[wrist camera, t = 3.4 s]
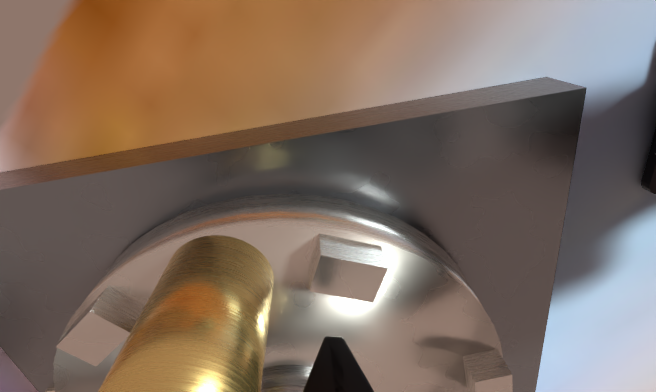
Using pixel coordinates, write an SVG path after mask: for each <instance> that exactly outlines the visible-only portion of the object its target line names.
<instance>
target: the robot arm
mask: <svg viewBox="0 0 656 392" xmlns="http://www.w3.org/2000/svg"><path fill="white" fill-rule="evenodd" d="M641 185H642V187H643V188H644V189H646V190H648V191H650V192H652V193H654V194H656V128H655V132H654V136H653V139H652V143H651V147H650V151H649V154H648V158H647V162H646V165H645V169H644V173H643V177H642V180H641ZM303 392H374V390H373V388H372V387H371V385H370V383H369V381H368V380H367V378H366V376H365V375H364V373H363V371H362V369H361V368H360V366H359V364H358V362H357V361H356V359H355V357H354V355H353V354H352V352H351V350H350V348H349V347H348V345H347V343H346V341H345V340H344V338H342V337H338V336H326V337H324V339H323V342H322V344H321V347H320V349H319V352H318V354H317V357H316V359H315V362H314V364H313V367H312V369H311V372H310V374H309V377H308V379H307V382H306V385H305V387H304V390H303Z"/></svg>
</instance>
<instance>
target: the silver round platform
mask: <svg viewBox="0 0 656 392" xmlns="http://www.w3.org/2000/svg"><path fill="white" fill-rule="evenodd" d="M326 336H338V337H342V338H344V340H345V341H346V343H347V345H348V347H349V348H350V350H351V352H352V354H353V355H354V357H355V359H356V361H357V362H358V364H359V366H360V368H361V369H362V371H363V373H364V375H365V376H366V378H367V380H368V381H369V383H370V385H371V387H372V388H373V390H374V392H513V384H512V373H511V372H510V370H509V368H508V366H507V365H506V363H505V361H504V359H503V354H502V347H501V343H500V340H499V338H498V335H497V332H496V329H495V327H494V325H493V323H492V321H491V320H490V318H489V316H488V315H487V313H486V311H485V310H484V308H483V306H482V305H481V303H480V301H479V300H478V298H477V296H476V295H475V293H474V291H473V290H472V288H471V286H470V285H469V283H468V281H467V280H466V278H465V276H464V275H463V273H462V272H461V270H460V268H459V267H458V266H457V264H456V263H455V262H454V261H453V260H452V259H451V258H450V256H449V255H448V254H447V253H446V252H445V251H444V250H443V249H442V248H441V247H440V246H438V245H437V244H436V243H435V242H434V241H432V240H431V239H430V238H429V237H428V236H426V235H425V234H424V233H422V232H420V231H419V230H417V229H415V228H414V227H412V226H411V225H409V224H407V223H406V222H404V221H402V220H400V219H398V218H396V217H393V216H391V215H389V214H386V213H384V212H382V211H379V210H377V209H375V208H371V207H368V206H364V205H361V204H357V203H354V202H350V201H347V200H342V199H336V198H329V197H323V196H317V195H302V194H269V195H255V196H246V197H241V198H236V199H230V200H225V201H220V202H216V203H213V204H209V205H206V206H203V207H200V208H197V209H194V210H191V211H188V212H185V213H183V214H181V215H179V216H177V217H175V218H173V219H171V220H169V221H167V222H164V223H162V224H160V225H159V226H157V227H156V228H154V229H153V230H151V231H150V232H148V233H147V234H145V235H144V236H142V237H141V238H139V239H138V240H136V241H135V242H134V243H133V244H132V245H131V246H130V247H129V248H127V249H126V250H125V251H124V252H123V253H122V254H121V255H120V256H119V257H118V258H117V259H116V260H115V262H114V263H113V264H112V265H111V267H110V268H109V269H108V271H107V272H106V273H105V274H104V276H103V277H102V278H101V280H100V281H99V282H98V283H97V285H96V286H95V287H94V289H93V290H92V291H91V293H90V294H89V295H88V297H87V298H86V299H85V300H84V302H83V303H82V304H81V306H80V307H79V308H78V310H77V311H76V312H75V313H74V315H73V316H72V317H71V319H70V320H69V322H68V324H67V326H66V328H65V330H64V332H63V334H62V336H61V338H60V340H59V343H58V344H57V346H56V348H57V351H56V355H55V359H54V371H53V384H54V389H55V392H303V390H304V387H305V385H306V382H307V379H308V377H309V374H310V372H311V369H312V367H313V364H314V362H315V359H316V357H317V354H318V352H319V349H320V347H321V344H322V342H323V339H324V337H326Z"/></svg>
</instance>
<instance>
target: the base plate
mask: <svg viewBox="0 0 656 392" xmlns="http://www.w3.org/2000/svg"><path fill="white" fill-rule="evenodd" d="M585 94H586V87H582V86H578V85H574V84H571V83H567V82H563V81H560V80H556V79H552V78H548V77H544V78H538V79H532V80H527V81H521V82H515V83H510V84H504V85H498V86H492V87H487V88H481V89H475V90H470V91H464V92H458V93H452V94H447V95H441V96H435V97H430V98H424V99H418V100H412V101H407V102H401V103H395V104H390V105H384V106H378V107H373V108H367V109H361V110H355V111H350V112H344V113H338V114H333V115H327V116H321V117H315V118H310V119H304V120H298V121H293V122H287V123H281V124H276V125H270V126H264V127H258V128H253V129H247V130H241V131H236V132H230V133H224V134H218V135H213V136H207V137H201V138H196V139H190V140H184V141H179V142H173V143H167V144H161V145H156V146H150V147H144V148H139V149H133V150H127V151H121V152H116V153H110V154H104V155H99V156H93V157H87V158H81V159H76V160H70V161H64V162H59V163H53V164H47V165H42V166H36V167H30V168H24V169H19V170H13V171H7V172H2V173H0V347H1V348H2V349H3V350H4V351H5V353H6V354H7V355H8V356H9V357H10V358H11V360H12V361H13V362H14V363H15V364H16V366H17V367H18V368H19V369H20V370H21V371H22V373H23V374H24V375H25V376H26V377H27V379H28V380H29V381H30V382H31V383H32V384H33V386H34V387H35V388H36V389H37V390H38V391H39V392H55V389H54V384H53V371H54V359H55V355H56V351H57V348H56V346H57V344H58V343H59V340H60V338H61V336H62V334H63V332H64V330H65V328H66V326H67V324H68V322H69V320H70V319H71V317H72V316H73V315H74V313H75V312H76V311H77V310H78V308H79V307H80V306H81V304H82V303H83V302H84V300H85V299H86V298H87V297H88V295H89V294H90V293H91V291H92V290H93V289H94V287H95V286H96V285H97V283H98V282H99V281H100V280H101V278H102V277H103V276H104V274H105V273H106V272H107V271H108V269H109V268H110V267H111V265H112V264H113V263H114V262H115V260H116V259H117V258H118V257H119V256H120V255H121V254H122V253H123V252H124V251H125V250H126V249H127V248H129V247H130V246H131V245H132V244H133V243H134V242H135V241H136V240H138V239H139V238H141V237H142V236H144V235H145V234H147V233H148V232H150V231H151V230H153V229H154V228H156V227H157V226H159V225H160V224H162V223H164V222H167V221H169V220H171V219H173V218H175V217H177V216H179V215H181V214H183V213H185V212H188V211H191V210H194V209H197V208H200V207H203V206H206V205H209V204H213V203H216V202H220V201H225V200H230V199H236V198H241V197H246V196H255V195H269V194H302V195H317V196H323V197H329V198H336V199H342V200H347V201H350V202H354V203H357V204H361V205H364V206H368V207H371V208H375V209H377V210H379V211H382V212H384V213H386V214H389V215H391V216H393V217H396V218H398V219H400V220H402V221H404V222H406V223H407V224H409V225H411V226H412V227H414V228H415V229H417V230H419V231H420V232H422V233H424V234H425V235H426V236H428V237H429V238H430V239H431V240H432V241H434V242H435V243H436V244H437V245H438V246H440V247H441V248H442V249H443V250H444V251H445V252H446V253H447V254H448V255H449V256H450V258H451V259H452V260H453V261H454V262H455V263H456V264H457V266H458V267H459V268H460V270H461V272H462V273H463V275H464V276H465V278H466V280H467V281H468V283H469V285H470V286H471V288H472V290H473V291H474V293H475V295H476V296H477V298H478V300H479V301H480V303H481V305H482V306H483V308H484V310H485V311H486V313H487V315H488V316H489V318H490V320H491V321H492V323H493V325H494V327H495V329H496V332H497V335H498V338H499V340H500V343H501V347H502V354H503V359H504V361H505V363H506V365H507V366H508V368H509V370H510V372H511V373H512V384H513V392H535V390H536V384H537V378H538V372H539V366H540V360H541V355H542V349H543V343H544V337H545V331H546V325H547V319H548V313H549V307H550V301H551V295H552V289H553V283H554V277H555V272H556V266H557V260H558V254H559V248H560V242H561V236H562V230H563V224H564V218H565V212H566V206H567V200H568V194H569V189H570V183H571V177H572V171H573V165H574V159H575V153H576V147H577V141H578V135H579V129H580V123H581V117H582V111H583V106H584V100H585Z"/></svg>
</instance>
